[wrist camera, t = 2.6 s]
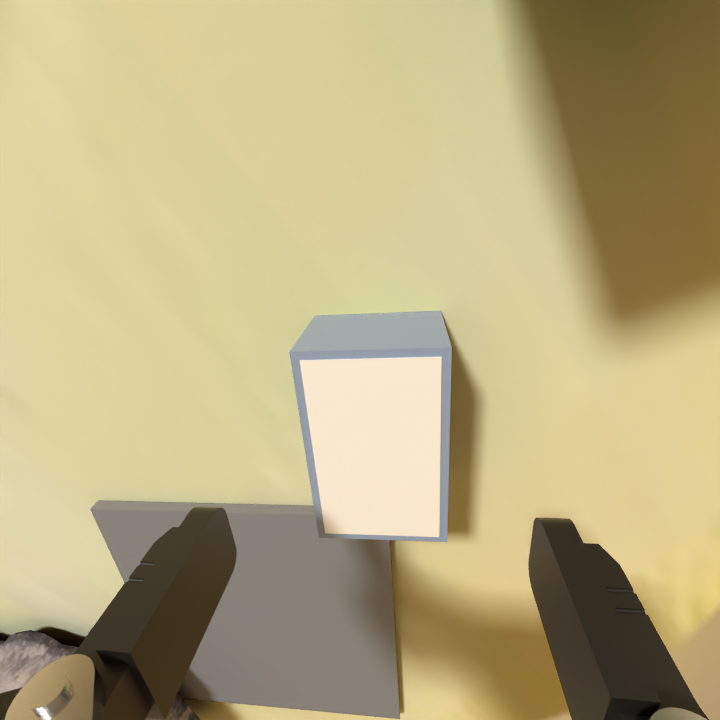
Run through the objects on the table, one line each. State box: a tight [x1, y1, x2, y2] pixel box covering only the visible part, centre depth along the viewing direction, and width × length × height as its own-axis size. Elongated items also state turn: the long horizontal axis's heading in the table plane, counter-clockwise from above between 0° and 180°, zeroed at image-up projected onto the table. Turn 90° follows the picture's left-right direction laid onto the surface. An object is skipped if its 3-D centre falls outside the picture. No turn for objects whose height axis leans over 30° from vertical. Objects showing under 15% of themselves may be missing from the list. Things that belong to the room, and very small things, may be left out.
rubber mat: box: [91, 501, 400, 719], centre depth 23 cm, size 16×18×1 cm
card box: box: [290, 311, 452, 542], centre depth 15 cm, size 5×8×4 cm, turn 4°
